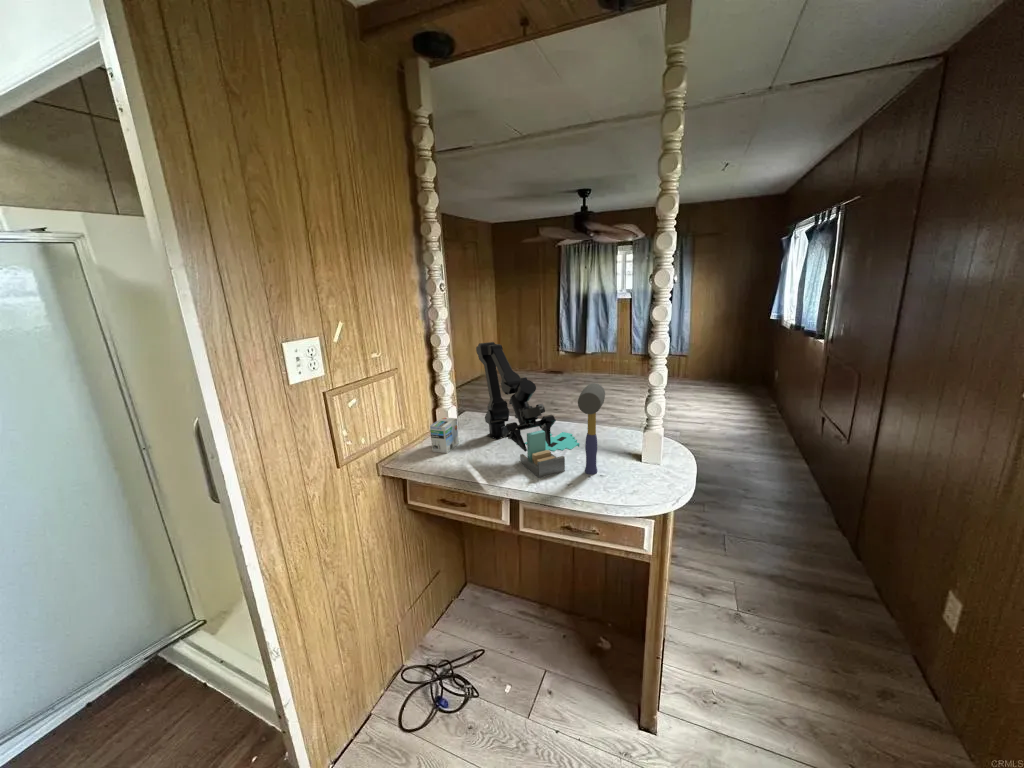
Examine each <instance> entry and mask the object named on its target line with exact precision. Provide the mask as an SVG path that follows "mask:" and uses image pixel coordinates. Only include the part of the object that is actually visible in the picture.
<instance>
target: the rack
mask: <svg viewBox="0 0 1024 768" xmlns="http://www.w3.org/2000/svg"><path fill="white" fill-rule="evenodd" d="M551 456H554V457H555V458H553V459H549V460H545V461H541V462H537V465H536V464H535V463H534V462H532V461H531V460H530V459H529V458H528V456H526V455H525V454H523V453H521V454H519V457H520V458H519V459H520V460H519V461H518V463H519V464H521V465H522V466H523V467H524V468H525V469H527V470H528V471H529V472H530V473H532V474H533V475H534V476H535V478H537V479H541V478H545V477H549V476H552V475H556V474H560V473H564V472H566V467H565V465H566V461H565V459H566V458H565V456H564V455H560V456H556V455H555V454H553V453H551Z"/></svg>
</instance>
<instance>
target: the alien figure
mask: <svg viewBox="0 0 1024 768" xmlns="http://www.w3.org/2000/svg"><path fill="white" fill-rule="evenodd" d="M550 439H551V445H550V446H549V445H548V444H547V442H546V440H545V443H546V450H549V451H550V452H555V451H557V450H558V451H564V450H570V451H572V450H573V449H574V448H575V447H578V448H580V442H578V439H576V436H573V433H569V432H564V431H561V433H559V434H557V435H555V436H553V434H552V432H551V430H550ZM524 443H525V445H527V441H526V442H524ZM515 444H516V443H515ZM516 445H517V446H519V445H518V444H516Z"/></svg>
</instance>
